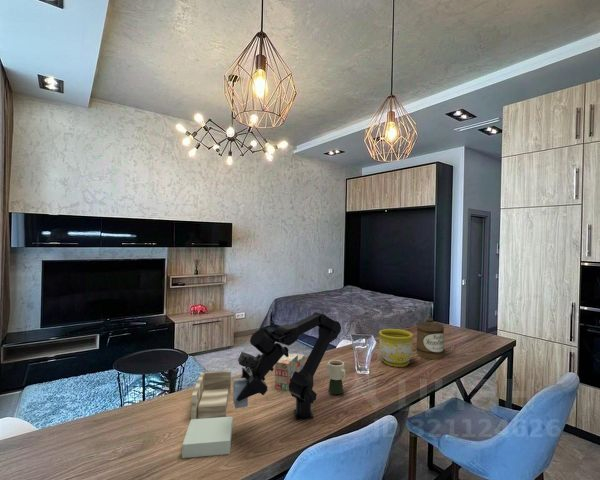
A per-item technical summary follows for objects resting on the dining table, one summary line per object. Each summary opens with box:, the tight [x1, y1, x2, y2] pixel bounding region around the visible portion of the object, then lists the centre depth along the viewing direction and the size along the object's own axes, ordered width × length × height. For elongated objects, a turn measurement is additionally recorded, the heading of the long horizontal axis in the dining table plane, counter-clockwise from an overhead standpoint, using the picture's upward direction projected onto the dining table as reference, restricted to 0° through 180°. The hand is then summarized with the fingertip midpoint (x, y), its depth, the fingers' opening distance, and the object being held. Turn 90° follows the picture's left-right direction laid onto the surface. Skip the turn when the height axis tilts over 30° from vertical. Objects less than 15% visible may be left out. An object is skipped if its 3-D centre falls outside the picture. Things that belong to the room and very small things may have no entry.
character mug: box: [326, 359, 346, 395], centre depth 138 cm, size 11×7×13 cm, turn 38°
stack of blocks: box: [274, 352, 306, 392], centre depth 151 cm, size 21×6×12 cm, turn 158°
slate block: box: [232, 377, 249, 409], centre depth 106 cm, size 6×4×7 cm, turn 18°
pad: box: [181, 416, 234, 459], centre depth 103 cm, size 14×14×4 cm
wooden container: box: [416, 317, 445, 360], centre depth 187 cm, size 15×15×22 cm
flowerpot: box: [378, 328, 414, 368], centre depth 174 cm, size 18×18×16 cm
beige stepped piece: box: [190, 369, 232, 420], centre depth 127 cm, size 22×13×9 cm, turn 9°
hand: (236, 395), depth 106 cm, fingers closed on slate block, 6 cm apart
